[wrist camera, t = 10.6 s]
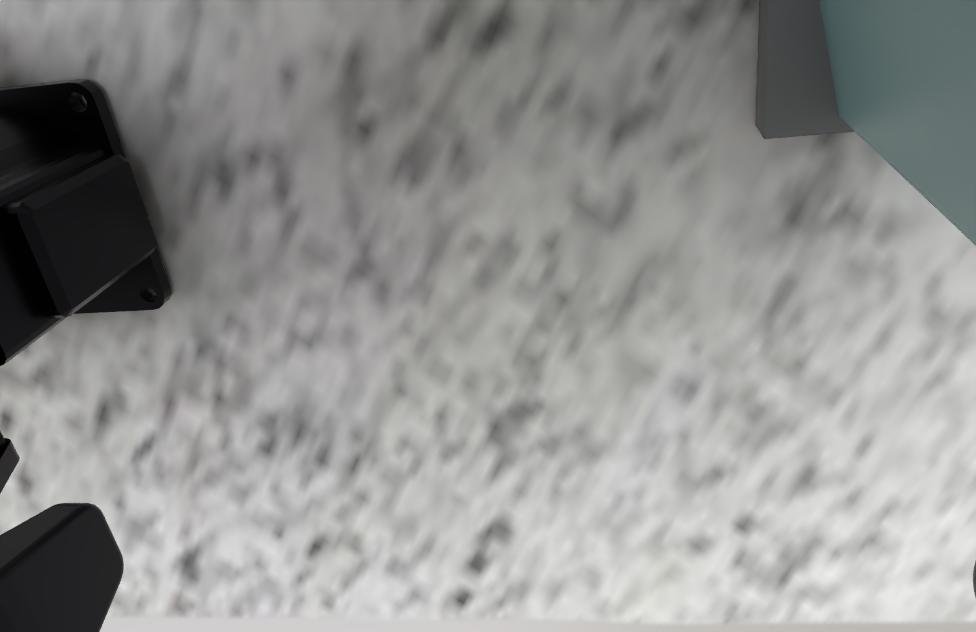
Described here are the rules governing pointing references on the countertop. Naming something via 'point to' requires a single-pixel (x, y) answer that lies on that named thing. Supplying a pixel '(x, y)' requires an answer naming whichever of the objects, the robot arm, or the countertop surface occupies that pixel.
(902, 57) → the module
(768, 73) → the foam pad
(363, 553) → the countertop surface
